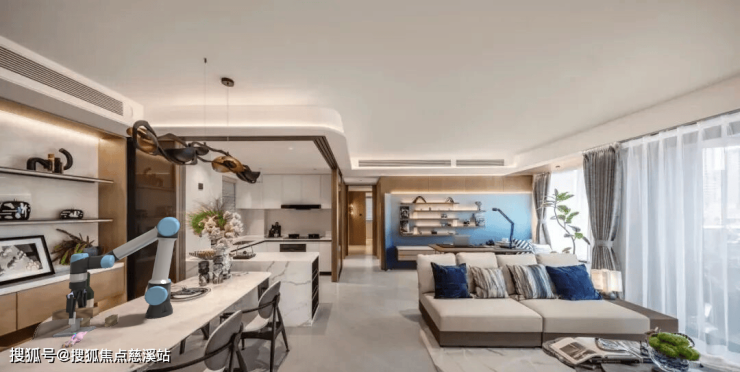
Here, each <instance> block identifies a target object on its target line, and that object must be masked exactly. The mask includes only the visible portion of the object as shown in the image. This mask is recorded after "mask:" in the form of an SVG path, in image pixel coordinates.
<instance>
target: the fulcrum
mask: <svg viewBox="0 0 740 372" xmlns="http://www.w3.org/2000/svg"><path fill="white" fill-rule="evenodd" d="M96 327H97V326H96V325H92V326H91V325H88V326H86V327H80V318H77V319H75V324H70V327H68V328H65V329H63V330H61V331H58V332H57V333H54V334H53V335H52V338H62V337H63V338H64V337H72V336H73V334H74V333H76V334H77V333H79V332H86V331H87V333H88V332H91V331H93V330H94V329H95V330H96V329H97V328H96Z"/></svg>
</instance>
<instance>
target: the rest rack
mask: <svg viewBox="0 0 740 372" xmlns="http://www.w3.org/2000/svg"><path fill="white" fill-rule="evenodd" d="M118 318H119V314H118V313H115V314H114V313H113V314H111V315H109V316H107V317H105V318H104V328H107V327H112V326H114V325H116V324H118V321H119V320H118ZM90 324H91V319H90V318H83V320H82V321H80V327H89V326H91V325H90Z"/></svg>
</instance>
